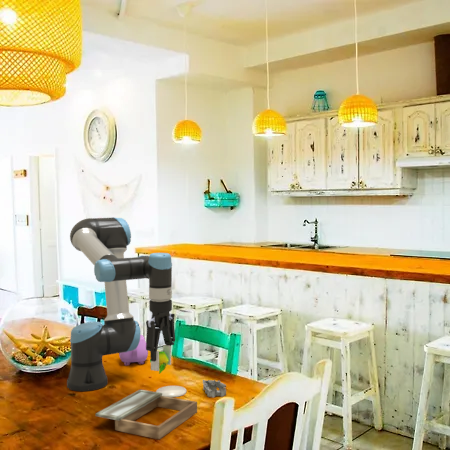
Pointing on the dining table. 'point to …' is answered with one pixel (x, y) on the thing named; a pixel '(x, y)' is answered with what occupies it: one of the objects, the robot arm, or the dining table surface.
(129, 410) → the cold frame
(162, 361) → the green faceted lump
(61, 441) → the dining table surface
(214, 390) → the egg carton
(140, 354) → the piggy bank
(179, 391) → the saucer
